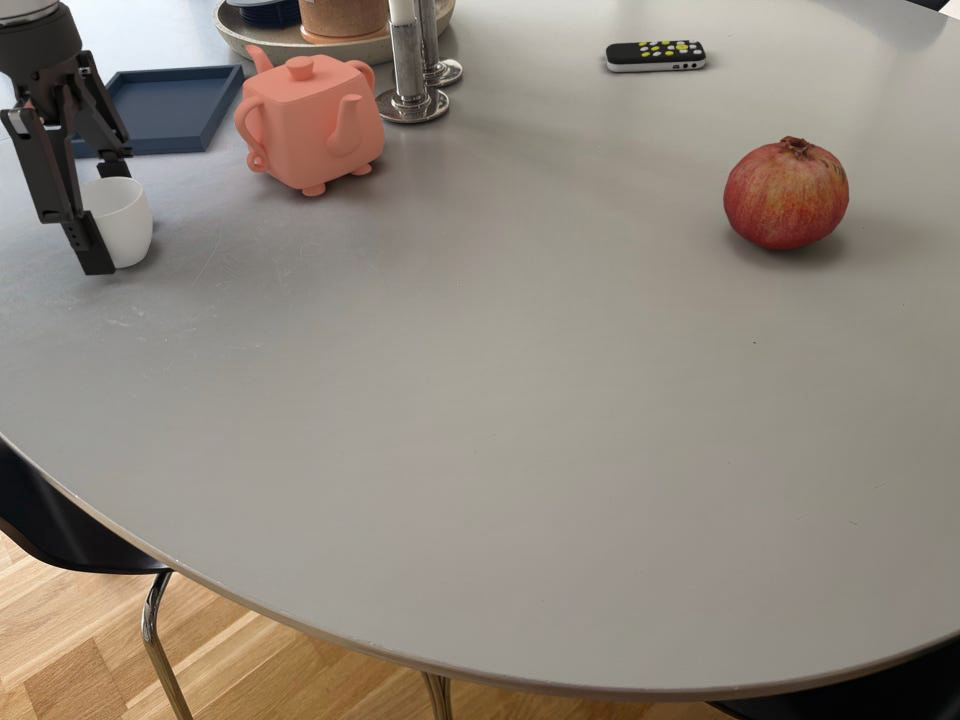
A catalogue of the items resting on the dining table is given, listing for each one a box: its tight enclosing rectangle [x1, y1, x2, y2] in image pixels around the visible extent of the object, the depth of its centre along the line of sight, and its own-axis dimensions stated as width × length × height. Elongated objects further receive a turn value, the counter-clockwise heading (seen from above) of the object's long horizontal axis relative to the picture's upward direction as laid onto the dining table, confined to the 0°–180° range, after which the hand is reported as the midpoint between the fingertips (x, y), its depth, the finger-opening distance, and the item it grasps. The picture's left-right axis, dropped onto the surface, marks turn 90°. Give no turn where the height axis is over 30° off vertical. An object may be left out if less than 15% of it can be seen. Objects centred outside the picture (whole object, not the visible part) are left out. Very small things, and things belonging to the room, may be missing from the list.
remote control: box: [605, 39, 707, 73], centre depth 108 cm, size 6×13×2 cm, turn 88°
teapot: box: [233, 44, 385, 197], centre depth 88 cm, size 15×17×13 cm
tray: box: [71, 63, 246, 159], centre depth 106 cm, size 22×18×2 cm
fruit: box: [722, 135, 850, 250], centre depth 73 cm, size 11×10×10 cm
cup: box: [79, 177, 154, 269], centre depth 80 cm, size 8×10×7 cm
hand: (118, 245), depth 81 cm, fingers closed on cup, 9 cm apart
